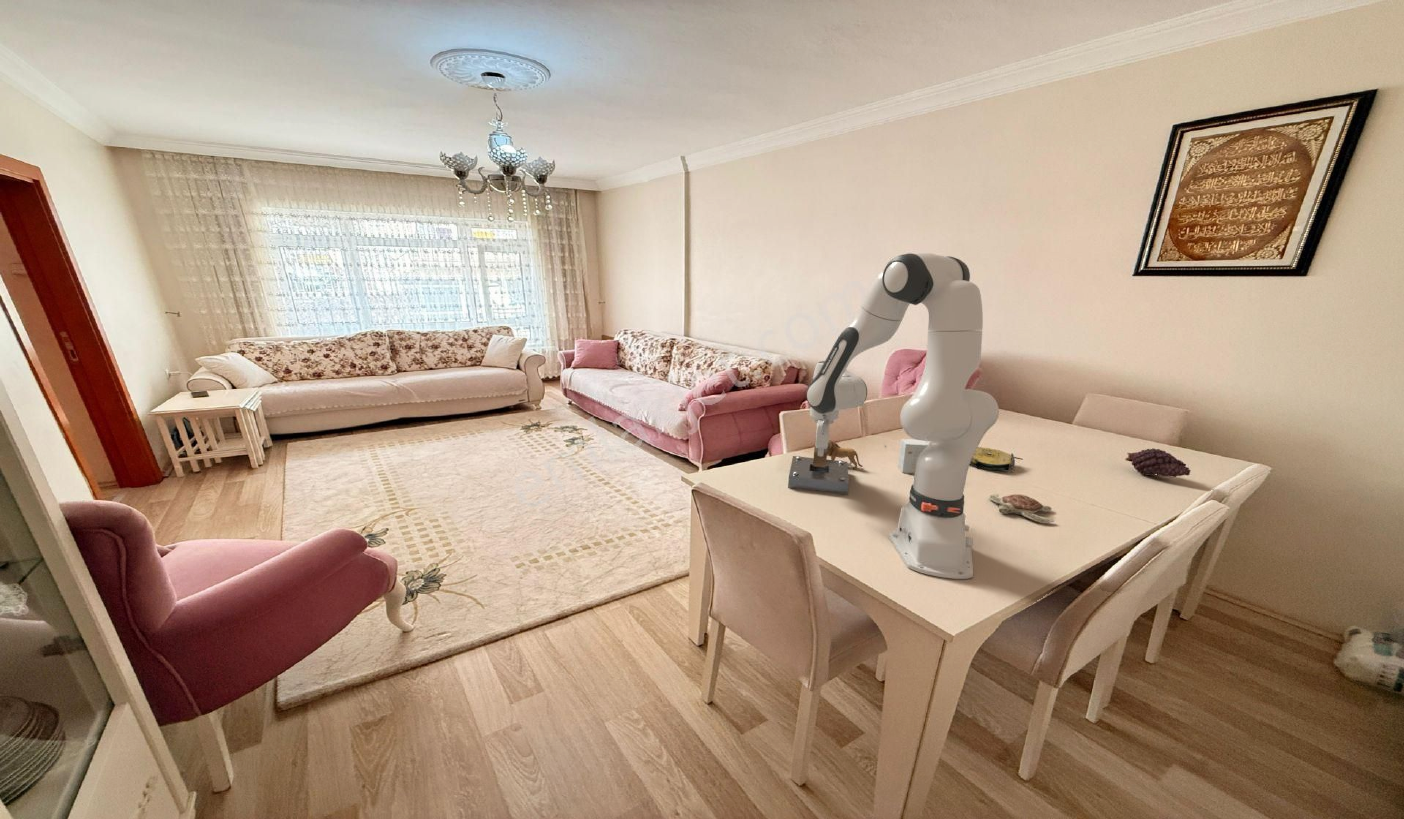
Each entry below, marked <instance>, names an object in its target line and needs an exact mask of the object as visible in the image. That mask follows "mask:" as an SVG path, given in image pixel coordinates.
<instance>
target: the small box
mask: <svg viewBox="0 0 1404 819" xmlns="http://www.w3.org/2000/svg"><path fill="white" fill-rule="evenodd" d="M928 444H929V443H928V441H923V440H916V439H913V438H911V439H910V438H909V439H908V438H901V440H900V448H899V456H898V461H897V462H898V463H897V464H898V465H897V468H898V469H899V470H900V471H901V473H902V474H915V470H916V463H917V459H918V456H919V455H920V453H921V452H922V451H923V450H924V449H925V448H926V447H927V446H928Z"/></svg>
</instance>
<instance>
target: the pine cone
mask: <svg viewBox="0 0 1404 819" xmlns="http://www.w3.org/2000/svg"><path fill="white" fill-rule="evenodd" d="M1124 460H1125V461H1126V462H1127V461H1128V462H1131V465H1132V466H1133V469H1135V470H1136V471H1137V473H1139V472H1140V473H1139V474H1142V473H1144V474H1157V475H1156V476H1162V477H1173V478H1176V477H1182V476H1189V475H1191V469H1190V468H1189V467H1188V466H1187V464H1186V463H1184V462H1183V461H1182V460H1180V459H1177V457H1175V456H1173V455H1172V454H1171V453H1169V452H1166V450H1161V449H1160V448H1157V449H1156V448H1146V449H1142V450H1140V451H1138V452H1127V457H1126V458H1125V459H1124Z"/></svg>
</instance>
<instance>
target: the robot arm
mask: <svg viewBox="0 0 1404 819" xmlns="http://www.w3.org/2000/svg"><path fill="white" fill-rule="evenodd" d="M970 280H971V273H970V270H969V267H968V265H967V264H966V263H965V262H964V261H963V260H961V259H960V258H957V257H954V256H950V255H949V256H945V255H940V254H939V255H938V254H935V253H911V252H910V253H909V252H908V253H903V254H900V255H897V256H895V257H893V258H892V259H890V260H889V261H888V262H887V263H886V266H885V267H884V269H883V270H882V271H880V272H879V273H878V274H877V275H876V277H875V279H873V281H872V283H871V285H870V286H869V289H868V291H867V292H866V294H865V296H864V298H863V301H862V303H861V306H860V307H859V310H858V312H857V314H855V317H854V318H853V320H852V321H851V322H850V324H849V325H848V326H847V327H846V328H845V329H844V330H842V331H841V333H840V334H839V336H838V337H837V339H836V341H835V342H834V344H833V346H832V348H831V350H830V352H829V353H828V355H827V357H826V359H825V360H821V361H819V362H817V363H816V365H815V368H814V371H813V376H812V380H811V382H810V383H809V385H808V387H807V390H806V394H805V396H806V401H807V404H808V405H809V408H810V410H809V417H811V418H813V419H812V421H813V422H814V423H816V432H815V437H816V443H815V442H814V448H815V447H816V448H818V456H821V457H822V456H823V454H824V449H827V447H828V440H830V437H829V436H830V425H832V424H834V423H835V420H838V419H839V417H840V416H839V414H840V411H842V410H843V411H844V410H848V409H855V408H858V407H862V405H863V404H864V403H865V401H866V400H867V397H868V386H867V384H866V382H865V381H864V380H863V378H862V377H861V376H856V375H855V374H853V373H852V372H850V371H849V370H848V369H847V368H848V366H849V365H850V364H851V362H852V361H853V359H854V358H856V357H857V356H858V355H860V354H861V353H864V352H865V351H869V350H870V349H873V348H875V347H878V346H882V345H883V344H885V343H887V342H889V341H890V340H891V339H892V338H893V336H894V335H895V334H896V332H897V331H898V329H899V327H900V325H901V324H902V322H903V319H904V317H905V314H906V312H907V309H909V308H908V307H909V306H910V305H914V306H917V305H919V304H923V305H924V306H925V308H926V309H927V311H928V327H927V340H926V342H927V343H926V354H925V355H926V356H925V365H924V370H923V372H922V375H921V378H920V380H919V383H918V384H917V387H916V389H915V391H914V393H913V394H912V396H911V397H910V398H909V399H908V400H907V401H906V402H905V403H904V404H903V405H902V407H901V411H900V416H899V417H900V418H899V419H900V424H901V427H902V429H903V431H904V433H905V434H906V435H907V436H909V438H911V439H914V440H923V441H926V442H929V443H928V446H927V447H926V448H925V449H924V450H923V451H922V452H921V453H920V455H919V456H918V459H917V463H916V470H915V473H914V478H913V483H912V484H911V486H910V490H909V497H908V498H909V499H908V502H907V503H906V504H905V505H903V506H902V507H901V509H900V512H899V518H898V524H897V530H893V531H890V532H889V535H888V536H889V539H890V541H891V542H892V543H893V545H894V547H895V548H896V551H897V553H898V554H899V555H900V558H902V560H903V562H904V564H905V566H906V567H907V568H909V569H911V570H913V571H915V572H918V573H922V574H923V575H924V574H925V575H928V576H932V577H939V578H944V579H953V580H966V579H971V578H974V567H973V566H974V565H973V557H972V548H973V545H974V538H973V537H969V536H966V532H969V531H970V526H969V525H967V524H966V518H967V517H966V516H967V515H966V514H965V513H964V508H965V495H964V490H965V485H966V481H967V475H968V470H969V467H970V465H969V464H970V462H971V459H972V457H973V455H974V453H975V451H976V449H977V447H979V445H980V443H981V441H982V439H983V438H984V436H985V435H986V433H987V432H988V431H989V430H990V428H992V427H993V426H994V425H995V424H996V422H997V421H998V418H999V415H1000V409H999V405H998V402H997V401H996V399H995V397H993V395H991V394H990V393H988V392H986V391H982V390H977V389H971V388H966V387H967V385H968V382H969V380H970V378H971V377H972V375H973V374H974V373H975V372H976V371H977V370H978V369H979V366H980V365H981V357H982V356H981V355H982V344H983V343H982V342H983V341H982V340H983V328H984V326H983V325H984V324H983V322H984V320H983V319H984V318H983V315H984V314H983V313H984V312H983V304H982V303H983V302H982V295H981V291H980V288H979V287H978V285H977V284H975V282H974V283H973V282H971V281H970Z"/></svg>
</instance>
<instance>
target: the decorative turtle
mask: <svg viewBox="0 0 1404 819" xmlns="http://www.w3.org/2000/svg"><path fill="white" fill-rule="evenodd" d="M999 495H1000V494H998V493H994V494H990V495H989V496H988V498H989V500H991V501H992V502H994V503H995V504H998V505H999V506H998V507H999V508H998V511H999V513H1000V514H1005V515H1006V514H1007V515H1008V514H1010V513H1011V514H1015V515H1021V516H1022V517H1025V518H1027V519H1030V520H1032V521H1035V522H1038V523H1040V524H1041V523H1042V524H1050V523H1053V522H1055V521H1054V519H1053V518H1049V517H1044V516H1040V515H1038V514H1035V513H1037V512H1039V511H1042V512H1043V511H1044V512H1051V511H1052V510H1053V509H1052V507H1051V506H1048V505H1044V504H1042V503H1040V502H1039V501H1037V500H1036V499H1035V498H1033V497H1030V496H1028V495H1024V494H1017V493H1016V494H1009V495H1007V496H1006V495H1005V496H1003V497H1002V498H1001V497H999Z"/></svg>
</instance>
